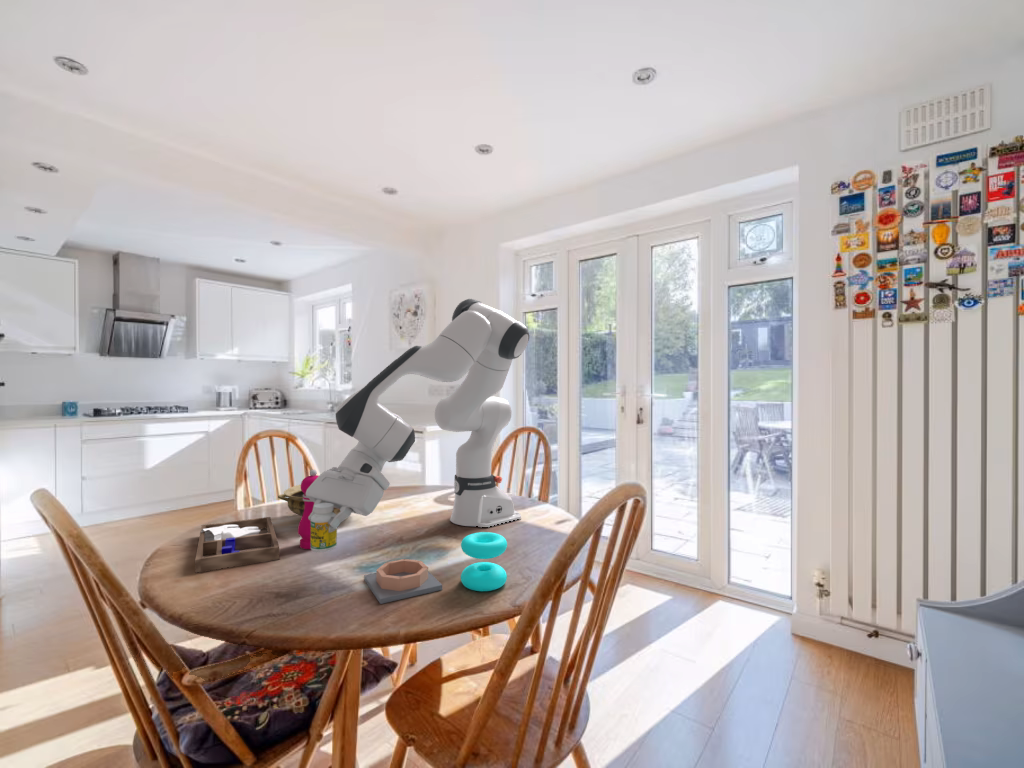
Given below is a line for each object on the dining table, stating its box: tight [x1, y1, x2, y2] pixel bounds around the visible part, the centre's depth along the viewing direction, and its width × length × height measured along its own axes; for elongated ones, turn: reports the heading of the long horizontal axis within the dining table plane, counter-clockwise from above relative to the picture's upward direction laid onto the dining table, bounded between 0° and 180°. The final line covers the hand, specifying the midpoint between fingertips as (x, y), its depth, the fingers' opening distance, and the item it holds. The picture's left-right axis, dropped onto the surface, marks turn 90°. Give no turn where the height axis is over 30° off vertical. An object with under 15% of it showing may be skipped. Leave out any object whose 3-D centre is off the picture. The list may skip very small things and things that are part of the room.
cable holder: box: [222, 537, 241, 554], centre depth 116 cm, size 8×4×4 cm, turn 24°
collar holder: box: [363, 558, 443, 605], centre depth 102 cm, size 13×13×4 cm
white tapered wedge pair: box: [200, 525, 261, 542], centre depth 128 cm, size 12×4×11 cm
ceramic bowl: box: [277, 483, 341, 517], centre depth 148 cm, size 30×24×10 cm
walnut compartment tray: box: [194, 516, 280, 574], centre depth 124 cm, size 17×29×3 cm, turn 31°
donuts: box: [460, 531, 508, 592], centre depth 103 cm, size 10×10×10 cm
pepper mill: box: [297, 469, 319, 550], centre depth 125 cm, size 7×7×20 cm
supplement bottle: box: [310, 503, 338, 553], centre depth 105 cm, size 5×5×10 cm
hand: (321, 523), depth 104 cm, fingers closed on supplement bottle, 5 cm apart
